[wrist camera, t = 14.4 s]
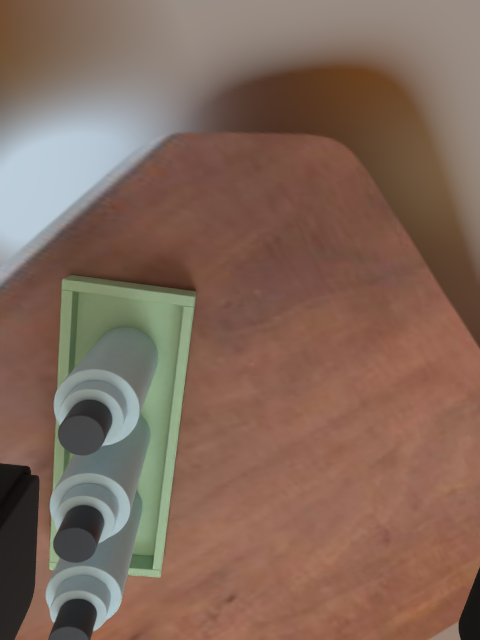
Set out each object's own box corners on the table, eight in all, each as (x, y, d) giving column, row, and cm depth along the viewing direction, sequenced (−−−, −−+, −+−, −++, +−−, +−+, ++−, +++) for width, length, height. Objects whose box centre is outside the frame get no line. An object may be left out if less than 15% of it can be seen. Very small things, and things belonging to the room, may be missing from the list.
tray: (71, 274, 32) (61, 278, 30) (196, 291, 33) (195, 296, 31) (57, 551, 39) (48, 569, 37) (163, 558, 40) (160, 577, 38)
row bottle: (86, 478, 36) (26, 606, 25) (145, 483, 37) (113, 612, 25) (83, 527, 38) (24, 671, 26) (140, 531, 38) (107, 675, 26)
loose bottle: (96, 322, 33) (32, 386, 21) (161, 331, 33) (133, 397, 22) (92, 382, 34) (29, 473, 22) (155, 389, 35) (125, 481, 23)
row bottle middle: (91, 403, 35) (29, 503, 23) (153, 410, 35) (123, 511, 23) (87, 457, 36) (27, 578, 24) (147, 463, 36) (116, 584, 25)
